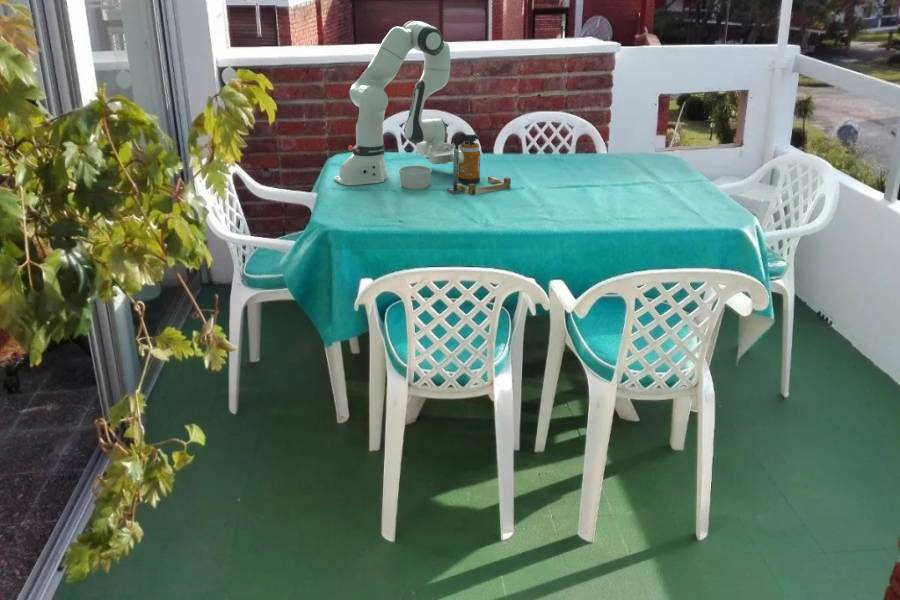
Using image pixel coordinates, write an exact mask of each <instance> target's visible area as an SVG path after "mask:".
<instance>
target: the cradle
mask: <svg viewBox="0 0 900 600" xmlns="http://www.w3.org/2000/svg"><path fill="white" fill-rule="evenodd" d="M511 181H512V178H511V177H503V179H499V178H498V177H497V178H496V177H494V176H490V175H489V176H487V182H488V183H490V184H491V185H486V186H484V185H483V186H480V187H477V186H476V183H474V184H468V186H466V185H464V184H463V183H460V182H457V187H459V188H461V189H464V193H466V194H468V195H469V196H475V195H479V194H483V193H489V192H494V191H500V190H501V191H502V190H505V189H511V183H512V182H511ZM493 183H494V184H493Z"/></svg>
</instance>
